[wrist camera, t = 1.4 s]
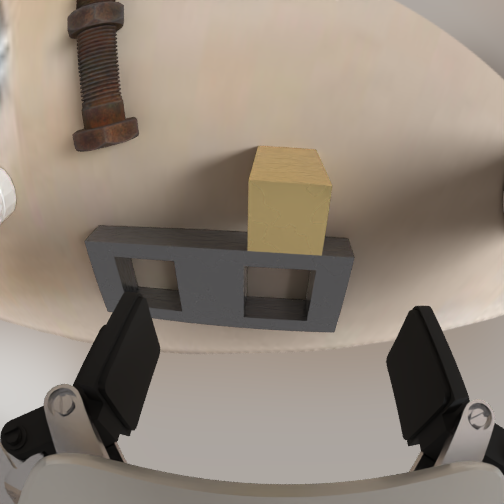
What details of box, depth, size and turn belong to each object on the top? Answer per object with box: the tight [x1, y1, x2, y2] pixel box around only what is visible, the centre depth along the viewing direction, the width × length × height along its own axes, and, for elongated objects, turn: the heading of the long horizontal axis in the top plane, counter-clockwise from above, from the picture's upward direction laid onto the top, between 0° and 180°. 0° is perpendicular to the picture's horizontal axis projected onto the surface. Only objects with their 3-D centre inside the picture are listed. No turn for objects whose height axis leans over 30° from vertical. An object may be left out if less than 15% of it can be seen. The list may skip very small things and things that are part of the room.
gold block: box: [248, 146, 332, 256], centre depth 21 cm, size 4×4×8 cm
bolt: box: [68, 0, 139, 152], centre depth 17 cm, size 6×5×15 cm
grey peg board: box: [85, 226, 354, 332], centre depth 28 cm, size 24×9×3 cm, turn 89°
